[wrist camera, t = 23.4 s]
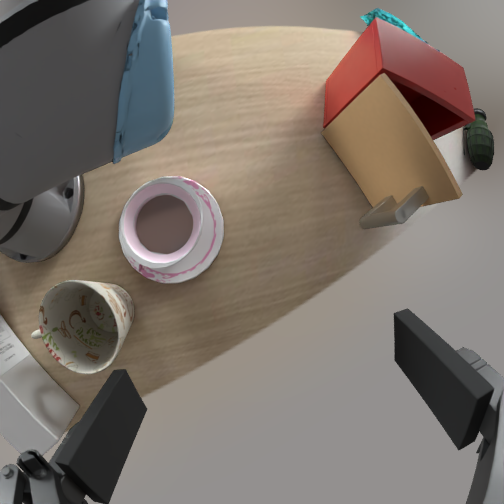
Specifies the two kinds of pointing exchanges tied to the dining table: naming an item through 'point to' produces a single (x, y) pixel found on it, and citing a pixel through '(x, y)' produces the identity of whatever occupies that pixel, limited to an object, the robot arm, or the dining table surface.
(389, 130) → the wooden cabinet door
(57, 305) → the mug
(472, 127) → the grenade
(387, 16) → the teal plastic bag
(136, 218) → the teacup
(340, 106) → the cabinet
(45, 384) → the tall white carton
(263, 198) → the dining table surface
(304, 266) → the dining table surface
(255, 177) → the dining table surface
